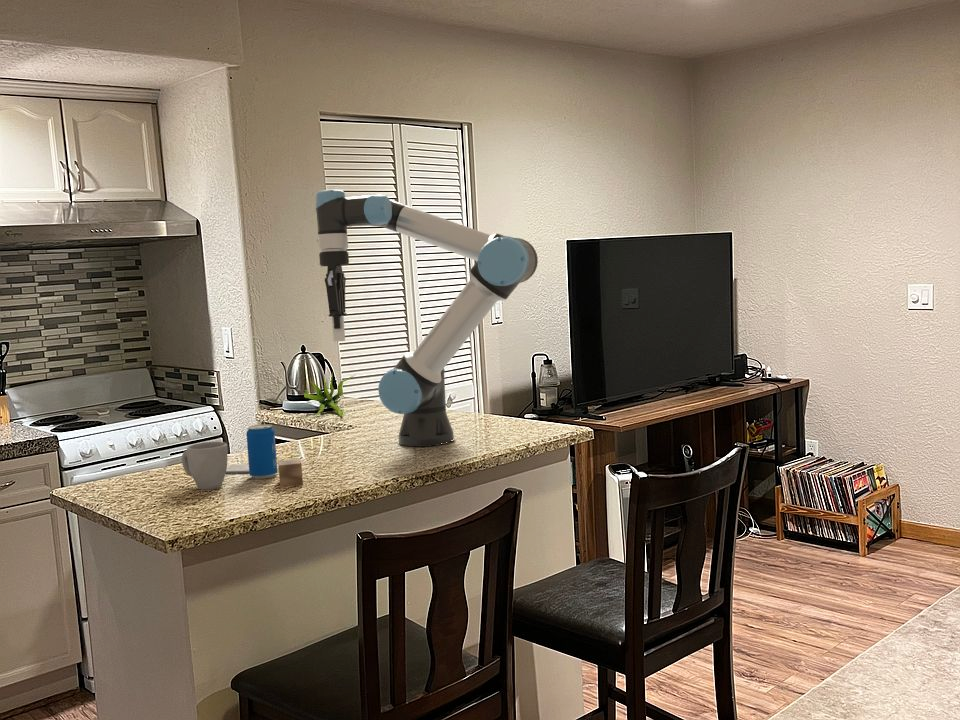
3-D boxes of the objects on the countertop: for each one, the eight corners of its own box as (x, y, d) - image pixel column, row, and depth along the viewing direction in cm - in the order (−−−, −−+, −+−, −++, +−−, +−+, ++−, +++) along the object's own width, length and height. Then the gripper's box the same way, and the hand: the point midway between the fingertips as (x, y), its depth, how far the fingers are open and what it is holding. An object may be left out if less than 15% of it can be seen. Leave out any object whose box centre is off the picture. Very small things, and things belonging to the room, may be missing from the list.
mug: (238, 483, 211) (235, 442, 210) (210, 492, 203) (207, 450, 202) (198, 480, 217) (195, 440, 216) (170, 489, 209) (167, 447, 208)
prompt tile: (267, 465, 231) (267, 462, 230) (255, 473, 221) (255, 470, 221) (232, 466, 231) (232, 463, 231) (218, 474, 222) (218, 471, 222)
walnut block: (301, 480, 212) (300, 459, 211) (302, 484, 207) (301, 463, 207) (279, 482, 211) (278, 461, 210) (280, 487, 206) (278, 465, 205)
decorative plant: (292, 423, 297) (289, 378, 296) (321, 408, 326) (318, 367, 325) (346, 421, 294) (343, 376, 293) (370, 407, 324) (368, 365, 322)
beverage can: (270, 479, 214) (267, 428, 213) (245, 479, 215) (241, 429, 214) (282, 473, 220) (278, 423, 219) (256, 473, 221) (253, 424, 220)
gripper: (326, 251, 246) (331, 339, 248) (312, 251, 233) (318, 343, 235) (353, 250, 245) (358, 338, 247) (341, 249, 232) (347, 342, 234)
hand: (339, 340), depth 241 cm, fingers closed
